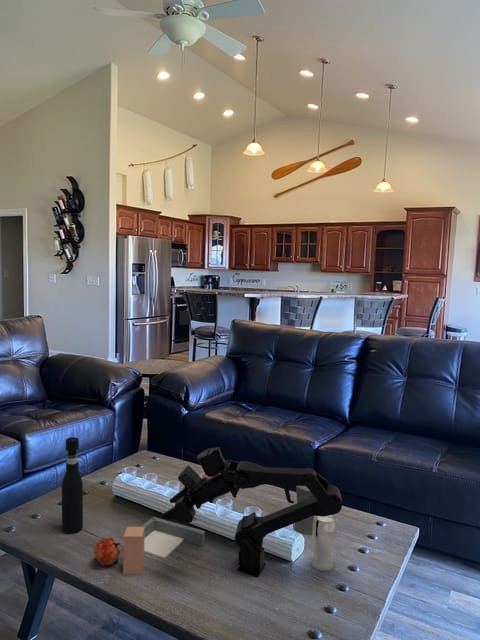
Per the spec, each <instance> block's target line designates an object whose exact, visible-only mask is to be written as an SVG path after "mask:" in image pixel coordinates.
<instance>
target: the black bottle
mask: <svg viewBox="0 0 480 640" xmlns="http://www.w3.org/2000/svg"><path fill="white" fill-rule="evenodd" d="M79 440H80V439H79V438H78V437H73V436H72V437H67V438H66V439H65V451H66V452H67V457H66V463H65V474H64V477H63V479H62V484H61V532H63V533H64V534H67V535H73V534H76V533H79V532H80V531H82V530H83V529H84V496H83V495H84V486H83V480H82V475H81V473H80V471H79V460H78V456H77V451H78V450H79V447H80V445H79V444H80V443H79Z"/></svg>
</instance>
